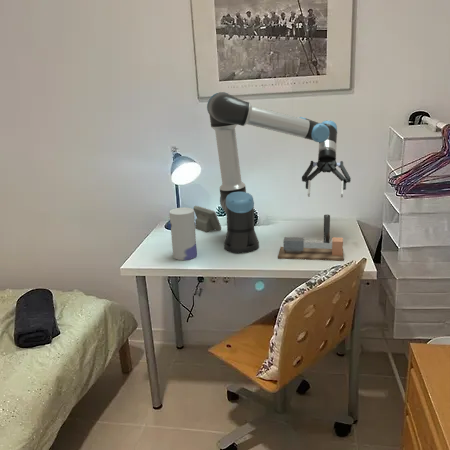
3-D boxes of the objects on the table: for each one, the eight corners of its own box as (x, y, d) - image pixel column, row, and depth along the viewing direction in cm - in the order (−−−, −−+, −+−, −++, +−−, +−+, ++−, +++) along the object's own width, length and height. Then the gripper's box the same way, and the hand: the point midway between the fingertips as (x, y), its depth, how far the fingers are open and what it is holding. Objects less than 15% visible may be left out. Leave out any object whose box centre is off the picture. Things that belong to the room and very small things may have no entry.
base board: (277, 258, 204) (277, 256, 204) (280, 248, 214) (280, 246, 214) (343, 260, 199) (343, 258, 199) (343, 250, 209) (343, 248, 209)
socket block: (332, 255, 202) (332, 241, 200) (332, 250, 207) (332, 237, 205) (342, 255, 201) (342, 241, 200) (342, 251, 206) (342, 237, 204)
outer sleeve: (283, 253, 207) (283, 240, 205) (284, 249, 210) (284, 237, 209) (303, 254, 205) (303, 241, 203) (303, 250, 209) (303, 237, 207)
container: (175, 251, 217) (172, 207, 211) (198, 251, 216) (195, 206, 210) (171, 260, 208) (167, 214, 201) (194, 260, 206) (191, 213, 200)
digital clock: (223, 231, 240) (222, 210, 237) (206, 235, 236) (204, 213, 233) (208, 222, 254) (206, 202, 250) (191, 226, 250) (190, 205, 247)
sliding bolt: (297, 247, 206) (297, 215, 201) (298, 245, 208) (298, 214, 203) (339, 249, 202) (340, 216, 198) (339, 246, 204) (340, 214, 200)
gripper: (356, 158, 219) (355, 200, 210) (298, 157, 225) (295, 199, 216) (357, 148, 213) (356, 191, 204) (298, 148, 218) (294, 190, 209)
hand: (325, 195), depth 210 cm, fingers open, 13 cm apart
